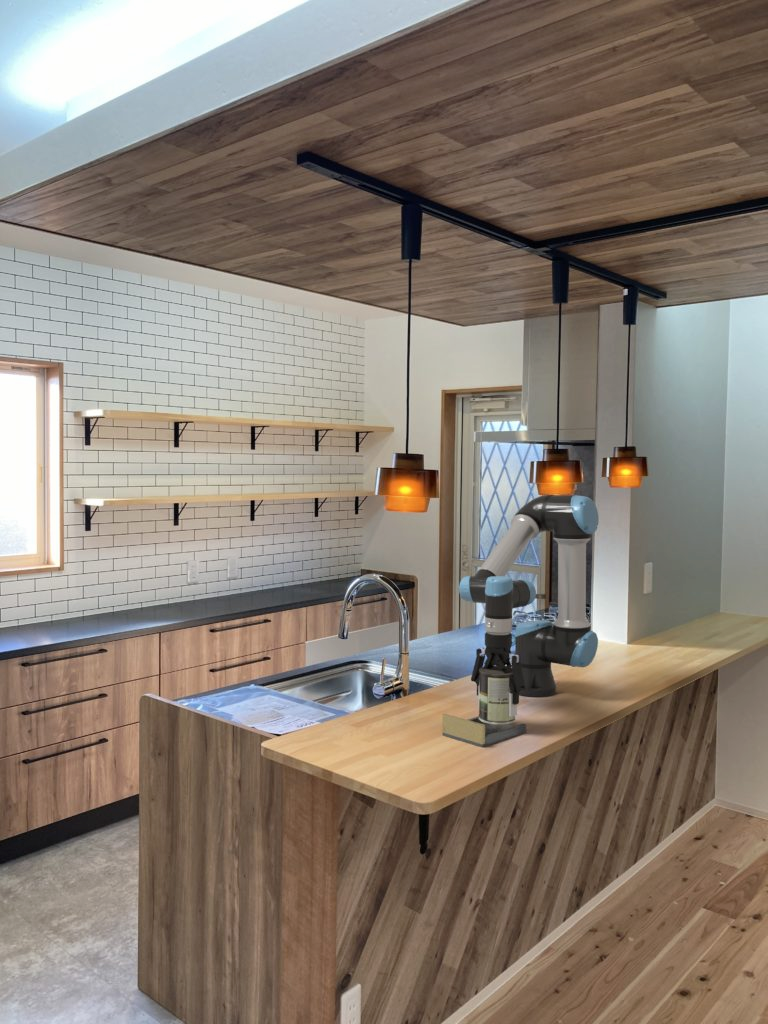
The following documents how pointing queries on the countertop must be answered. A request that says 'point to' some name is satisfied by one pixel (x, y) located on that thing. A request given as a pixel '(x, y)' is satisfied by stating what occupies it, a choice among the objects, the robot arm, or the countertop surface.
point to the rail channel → (478, 730)
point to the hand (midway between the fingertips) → (497, 711)
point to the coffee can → (494, 696)
